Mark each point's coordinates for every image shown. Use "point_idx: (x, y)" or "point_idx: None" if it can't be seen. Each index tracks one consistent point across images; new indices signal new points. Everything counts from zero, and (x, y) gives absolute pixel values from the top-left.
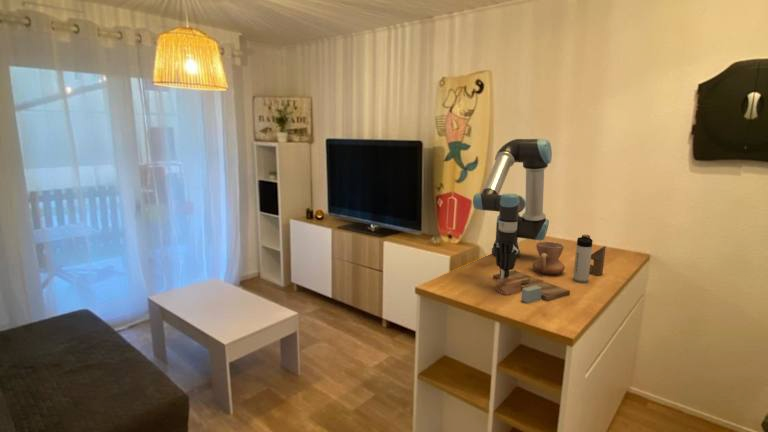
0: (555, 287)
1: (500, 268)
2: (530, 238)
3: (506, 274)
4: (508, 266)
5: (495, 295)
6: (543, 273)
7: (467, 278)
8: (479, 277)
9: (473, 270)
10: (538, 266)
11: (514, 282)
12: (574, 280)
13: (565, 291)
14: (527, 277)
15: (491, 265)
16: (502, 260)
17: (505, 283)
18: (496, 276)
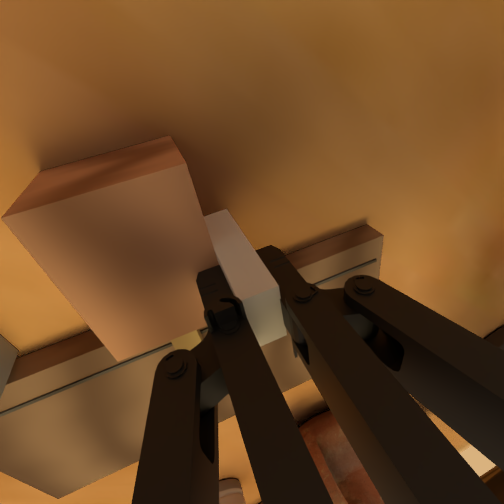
0: (113, 458)
1: (296, 286)
2: (492, 480)
3: (202, 296)
4: (180, 402)
5: (40, 56)
6: (307, 421)
7: (460, 45)
8: (421, 152)
9: (500, 173)
10: (334, 436)
11: (74, 306)
12: (220, 481)
13: (46, 487)
14: (276, 378)
15: (472, 282)
16: (347, 399)
17: (37, 207)
18: (356, 245)
